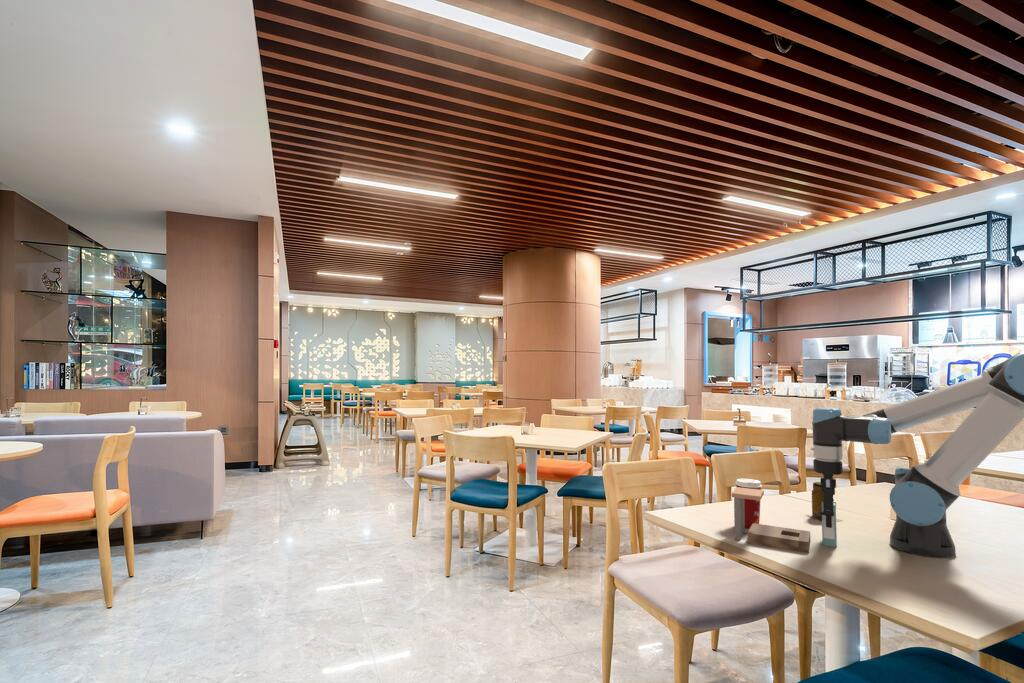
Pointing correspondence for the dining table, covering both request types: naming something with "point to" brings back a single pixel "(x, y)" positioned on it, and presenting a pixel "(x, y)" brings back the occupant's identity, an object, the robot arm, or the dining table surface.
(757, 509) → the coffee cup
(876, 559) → the dining table surface
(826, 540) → the peg
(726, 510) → the dining table surface
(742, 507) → the toy block arch
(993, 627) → the dining table surface
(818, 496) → the condiment
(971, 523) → the dining table surface
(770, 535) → the socket block
